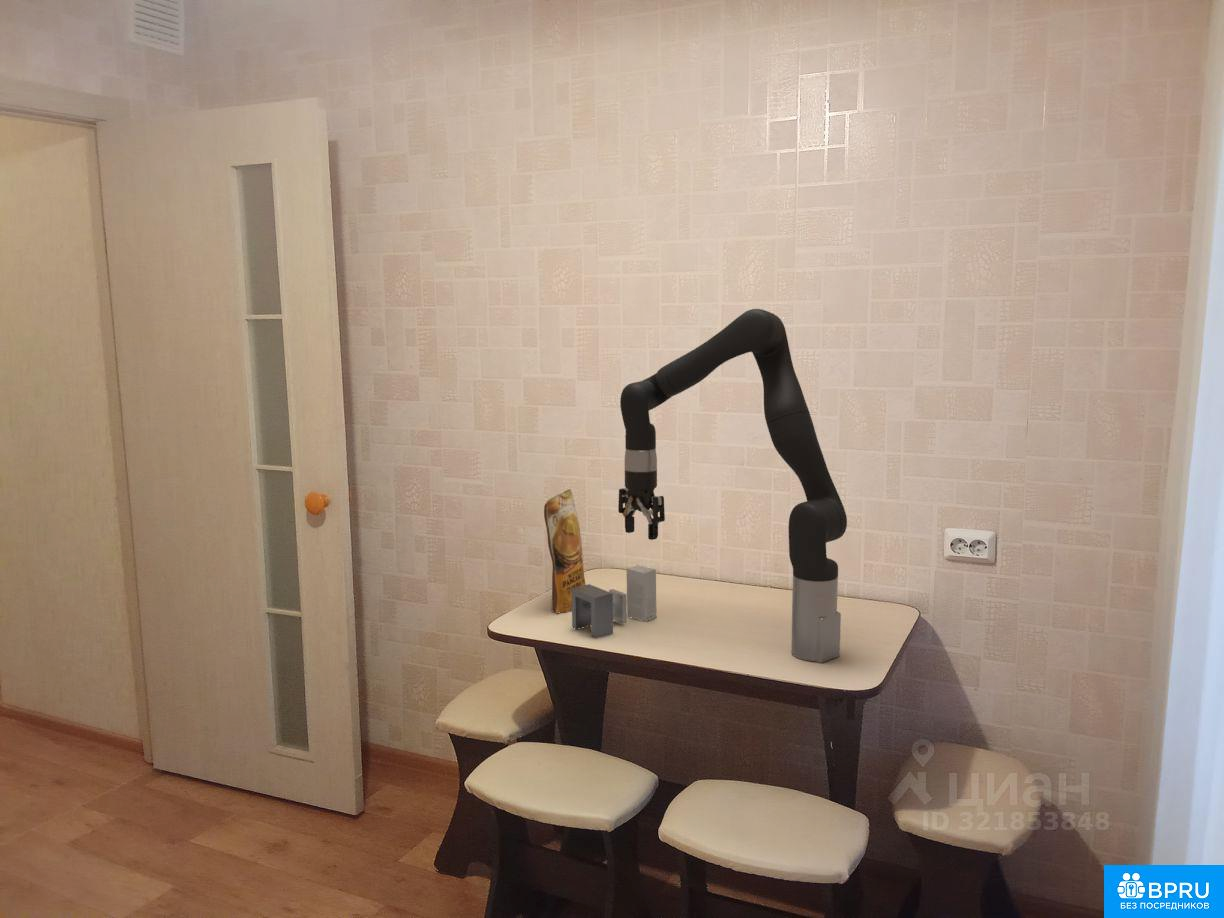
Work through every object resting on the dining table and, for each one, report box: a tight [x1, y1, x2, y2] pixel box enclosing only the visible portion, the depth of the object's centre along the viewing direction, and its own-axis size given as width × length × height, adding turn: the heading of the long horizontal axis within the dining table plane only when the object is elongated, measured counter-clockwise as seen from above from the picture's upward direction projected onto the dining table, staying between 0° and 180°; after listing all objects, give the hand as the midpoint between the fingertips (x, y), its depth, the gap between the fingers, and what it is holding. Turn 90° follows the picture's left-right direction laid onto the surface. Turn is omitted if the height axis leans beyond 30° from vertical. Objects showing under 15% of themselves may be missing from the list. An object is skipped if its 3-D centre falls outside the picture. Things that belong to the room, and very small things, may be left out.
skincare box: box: [626, 565, 657, 623], centre depth 218 cm, size 6×4×12 cm
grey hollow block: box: [571, 583, 614, 640], centre depth 213 cm, size 12×11×10 cm
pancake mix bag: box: [543, 489, 587, 615], centre depth 227 cm, size 7×19×28 cm, turn 156°
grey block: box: [608, 588, 628, 625], centre depth 215 cm, size 10×6×7 cm, turn 37°
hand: (641, 535), depth 216 cm, fingers open, 8 cm apart
